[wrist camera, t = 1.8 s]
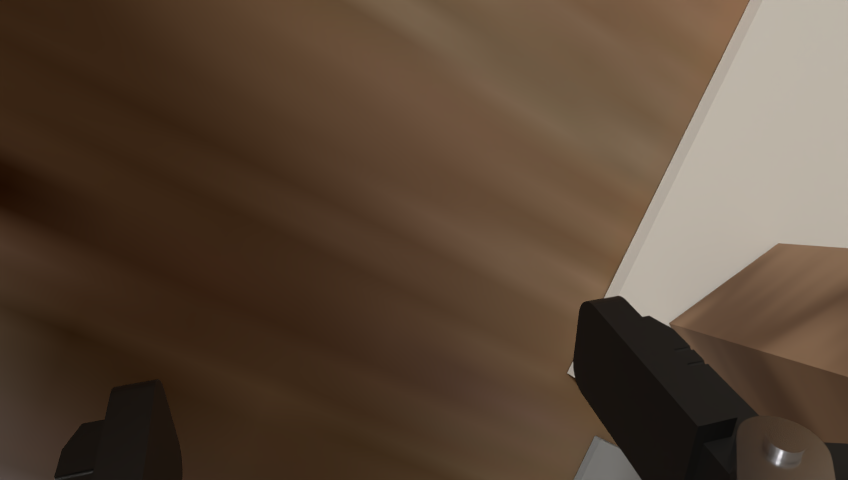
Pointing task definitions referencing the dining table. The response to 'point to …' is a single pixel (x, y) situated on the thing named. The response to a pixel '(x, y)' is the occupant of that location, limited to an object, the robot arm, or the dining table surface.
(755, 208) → the board
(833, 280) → the walnut block
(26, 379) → the dining table surface
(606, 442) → the grey mat
